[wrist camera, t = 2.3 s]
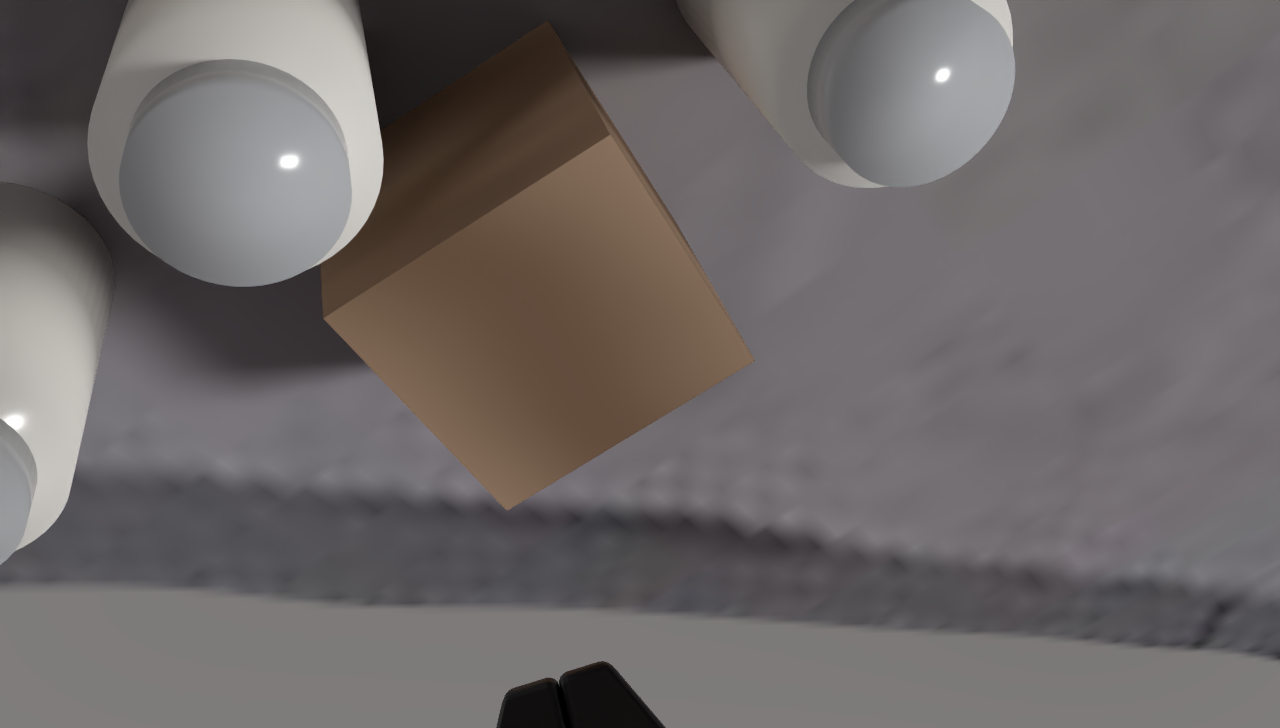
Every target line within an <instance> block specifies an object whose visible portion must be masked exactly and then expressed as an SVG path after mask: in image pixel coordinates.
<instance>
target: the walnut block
mask: <svg viewBox="0 0 1280 728" xmlns="http://www.w3.org/2000/svg"><path fill="white" fill-rule="evenodd" d="M380 134H381V140H382V148H383V159H384V161H383V177H382V182H381V187H380V192H379V195H378V197H377V200H376V203H375V206H374V208H373V210H372V212H371V214H370V215H369V217H368V219H367V221H366V222H365V224H364V225H363V227H362V228H361V229H360V231H359V232H358V233H357V234H356V236H355V237H354V238H353V239H352V240H351V241H350V242H349V243H348V244H347V245H346V246H345V247H343V248H342V249H341V250H340V251H338V252H337V253H336V254H335V255H333V256H332V257H330V258H329V259H327V260H325V261H324V262H322V263H320V269H321V287H322V306H323V319H324V320H325V321H326V322H327V323H328V324H329V325H330V326H331V327H332V328H333V329H334V330H335V331H336V332H337V333H338V334H339V335H340V337H341V338H342V339H343V340H344V341H345V342H346V343H347V344H348V345H349V346H350V347H351V348H352V349H353V350H354V351H355V352H356V353H357V354H358V355H359V356H360V357H361V359H362V360H363V361H364V362H365V363H366V364H367V365H368V366H369V367H370V368H371V369H372V370H373V371H374V372H375V373H376V374H377V375H378V376H379V377H380V378H381V379H382V380H383V382H384V383H385V384H386V385H387V386H388V387H389V388H390V389H391V390H392V391H393V392H394V393H395V394H396V395H397V396H398V397H399V398H400V399H401V400H402V401H403V402H404V404H405V405H406V406H407V407H408V408H409V409H410V410H411V411H412V412H413V413H414V414H415V415H416V416H417V417H418V418H419V419H420V420H421V421H422V422H423V423H424V424H425V425H426V427H427V428H428V429H429V430H430V431H431V432H432V433H433V434H434V435H435V436H436V437H437V438H438V439H439V440H440V441H441V442H442V443H443V444H444V445H445V446H446V447H447V449H448V450H449V451H450V452H451V453H452V454H453V455H454V456H455V457H456V458H457V459H458V460H459V461H460V462H461V463H462V464H463V465H464V466H465V467H466V468H467V469H468V470H469V472H470V473H471V474H472V475H473V476H474V477H475V478H476V479H477V480H478V481H479V482H480V483H481V484H482V485H483V486H484V487H485V488H486V489H487V490H488V491H489V492H490V494H491V495H492V496H493V497H494V498H495V499H496V500H497V501H498V502H499V503H500V504H501V505H502V506H503V507H504V508H505V509H506V510H509V509H511V508H512V507H514V506H515V505H517V504H519V503H520V502H522V501H524V500H525V499H527V498H529V497H530V496H532V495H534V494H535V493H537V492H539V491H540V490H542V489H544V488H545V487H547V486H549V485H550V484H552V483H553V482H555V481H557V480H558V479H560V478H562V477H563V476H565V475H567V474H568V473H570V472H572V471H573V470H575V469H577V468H578V467H580V466H582V465H583V464H585V463H587V462H588V461H590V460H592V459H593V458H595V457H596V456H598V455H600V454H601V453H603V452H605V451H606V450H608V449H610V448H611V447H613V446H615V445H616V444H618V443H620V442H621V441H623V440H625V439H626V438H628V437H630V436H631V435H633V434H634V433H636V432H638V431H639V430H641V429H643V428H644V427H646V426H648V425H649V424H651V423H653V422H654V421H656V420H658V419H659V418H661V417H663V416H664V415H666V414H668V413H669V412H671V411H672V410H674V409H676V408H677V407H679V406H681V405H682V404H684V403H686V402H687V401H689V400H691V399H692V398H694V397H696V396H697V395H699V394H701V393H702V392H704V391H706V390H707V389H709V388H711V387H712V386H714V385H715V384H717V383H719V382H720V381H722V380H724V379H725V378H727V377H729V376H730V375H732V374H734V373H735V372H737V371H739V370H740V369H742V368H744V367H745V366H747V365H749V364H750V363H752V362H753V361H755V360H754V358H753V356H752V355H751V353H750V351H749V349H748V348H747V346H746V344H745V342H744V341H743V339H742V337H741V335H740V334H739V332H738V330H737V328H736V327H735V325H734V323H733V321H732V320H731V318H730V316H729V314H728V313H727V311H726V309H725V307H724V306H723V304H722V302H721V300H720V299H719V297H718V295H717V293H716V292H715V290H714V288H713V286H712V285H711V283H710V281H709V279H708V278H707V276H706V274H705V272H704V271H703V269H702V267H701V265H700V264H699V262H698V260H697V258H696V257H695V255H694V253H693V251H692V250H691V248H690V246H689V244H688V243H687V241H686V239H685V237H684V236H683V234H682V232H681V230H680V229H679V227H678V225H677V223H676V222H675V220H674V219H673V217H672V216H671V214H670V212H669V211H668V209H667V208H666V206H665V204H664V203H663V201H662V200H661V198H660V197H659V195H658V193H657V192H656V190H655V189H654V187H653V186H652V184H651V182H650V181H649V179H648V178H647V176H646V174H645V173H644V171H643V170H642V168H641V167H640V165H639V163H638V162H637V160H636V159H635V157H634V156H633V154H632V152H631V151H630V149H629V148H628V146H627V144H626V143H625V141H624V140H623V138H622V137H621V135H620V133H619V132H618V130H617V129H616V127H615V126H614V124H613V122H612V121H611V119H610V118H609V116H608V114H607V113H606V111H605V110H604V108H603V107H602V105H601V103H600V102H599V100H598V99H597V97H596V95H595V94H594V92H593V91H592V89H591V88H590V86H589V84H588V83H587V81H586V80H585V78H584V77H583V75H582V73H581V72H580V70H579V69H578V67H577V65H576V64H575V62H574V61H573V59H572V58H571V56H570V54H569V53H568V51H567V50H566V48H565V47H564V45H563V43H562V42H561V40H560V39H559V37H558V35H557V34H556V32H555V31H554V29H553V28H552V26H551V24H550V23H549V21H548V20H547V21H546V22H544V23H543V24H541V25H540V26H538V27H537V28H535V29H534V30H532V31H531V32H529V33H527V34H526V35H524V36H523V37H521V38H520V39H518V40H517V41H515V42H514V43H512V44H511V45H509V46H508V47H506V48H505V49H503V50H502V51H500V52H499V53H497V54H496V55H494V56H493V57H491V58H489V59H488V60H486V61H485V62H483V63H482V64H480V65H479V66H477V67H476V68H474V69H473V70H471V71H470V72H468V73H467V74H465V75H464V76H462V77H461V78H459V79H458V80H456V81H455V82H453V83H452V84H450V85H448V86H447V87H445V88H444V89H442V90H441V91H439V92H438V93H436V94H435V95H433V96H432V97H430V98H429V99H427V100H426V101H424V102H423V103H421V104H420V105H418V106H417V107H415V108H414V109H412V110H410V111H409V112H407V113H406V114H404V115H403V116H401V117H400V118H398V119H397V120H395V121H394V122H392V123H391V124H389V125H388V126H386V127H385V128H383V129H382V130H380Z"/></svg>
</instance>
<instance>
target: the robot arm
mask: <svg viewBox="0 0 1280 728" xmlns="http://www.w3.org/2000/svg"><path fill="white" fill-rule="evenodd" d="M559 685H560V686H559ZM497 728H665V726H663V724H662V723H661V722H660V721H659V719H658V718H657V717H656V716H655V715H654V714H653V712H652V711H651V710H650V709H649V708H648V707H647V705H646V704H645V703H644V702H643V701H642V700H641V698H640V697H639V696H638V695H637V694H636V692H635V691H634V690H633V689H632V688H631V687H630V685H629V684H628V683H627V682H626V681H625V679H624V678H623V677H622V676H621V675H620V674H619V672H618V671H617V670H616V669H615V668H614V667H613V666H612V665H611V664H609V663H607V662H604V661H601V662H597V663H593V664H590V665H587V666H584V667H581V668H577V669H574V670H571V671H567V672H565V673H564V674H563V675H562V676H561V677H560V680H559V684H558V682H557V681H556V680H555V679H553V678H545V679H541V680H538V681H535V682H532V683H529V684H525V685H522V686H519V687H515V688H513V689H511V690H509V691H508V692H507V693H506V695H505V697H504V700H503V702H502V706H501V710H500V714H499V719H498V723H497Z"/></svg>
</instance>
